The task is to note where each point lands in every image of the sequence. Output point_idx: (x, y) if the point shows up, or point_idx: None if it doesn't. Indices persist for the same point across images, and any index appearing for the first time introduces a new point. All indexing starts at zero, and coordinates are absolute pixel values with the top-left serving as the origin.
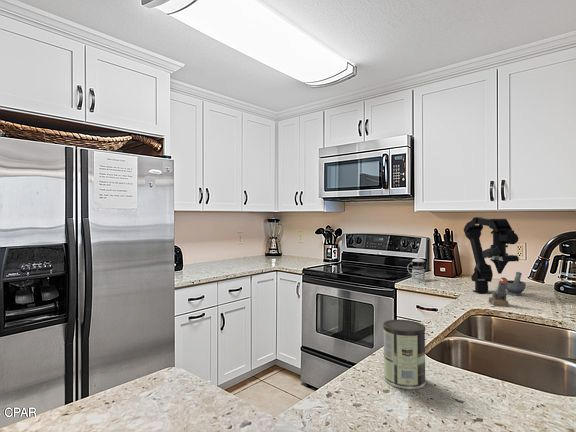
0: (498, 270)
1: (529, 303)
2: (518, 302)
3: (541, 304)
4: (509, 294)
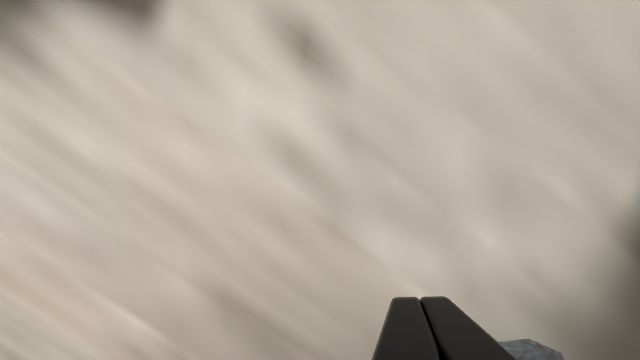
0: (426, 356)
1: (127, 260)
2: (175, 186)
3: (86, 331)
4: (522, 344)
